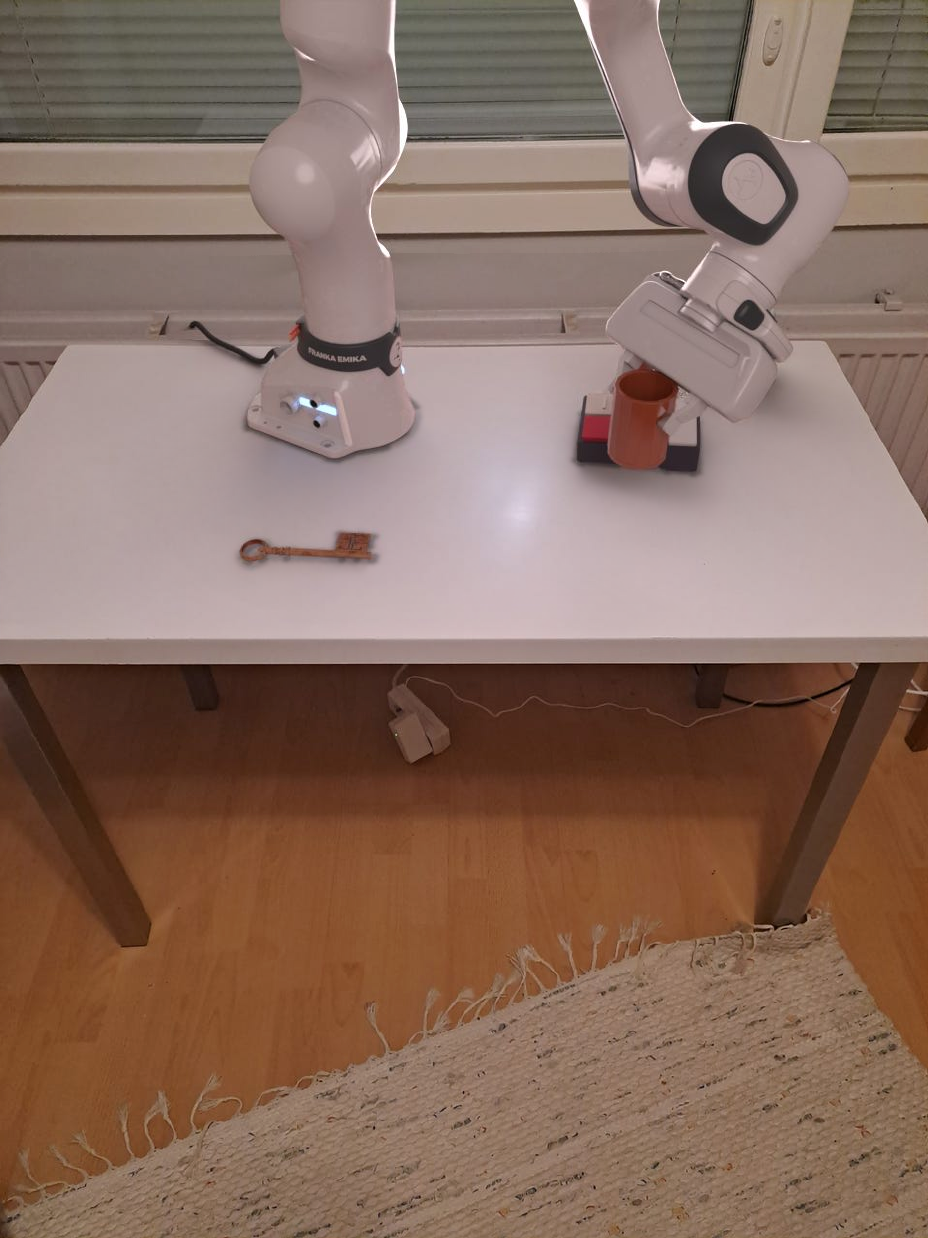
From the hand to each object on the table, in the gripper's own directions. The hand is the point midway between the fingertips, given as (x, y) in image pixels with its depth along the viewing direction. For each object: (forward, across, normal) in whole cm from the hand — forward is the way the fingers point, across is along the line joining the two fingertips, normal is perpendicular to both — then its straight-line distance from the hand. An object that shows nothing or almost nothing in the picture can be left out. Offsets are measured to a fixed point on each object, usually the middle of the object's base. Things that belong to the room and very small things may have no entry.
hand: (638, 412), depth 99 cm
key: (+34, -15, -14) cm, 40 cm away
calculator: (+3, -10, +18) cm, 20 cm away
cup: (+3, 0, +4) cm, 5 cm away
